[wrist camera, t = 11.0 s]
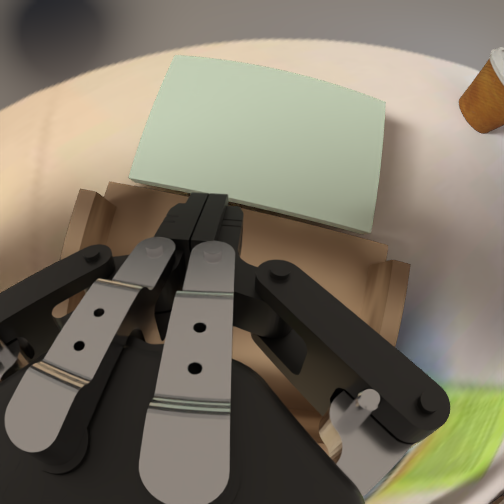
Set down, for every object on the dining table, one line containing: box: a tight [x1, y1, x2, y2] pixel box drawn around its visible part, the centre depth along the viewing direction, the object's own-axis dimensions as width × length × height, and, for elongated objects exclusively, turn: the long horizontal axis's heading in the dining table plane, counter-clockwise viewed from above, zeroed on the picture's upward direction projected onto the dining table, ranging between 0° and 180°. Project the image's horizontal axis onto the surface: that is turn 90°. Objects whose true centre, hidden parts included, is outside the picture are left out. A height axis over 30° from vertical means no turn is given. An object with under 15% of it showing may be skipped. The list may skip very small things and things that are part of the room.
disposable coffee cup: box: [459, 47, 504, 133], centre depth 24 cm, size 10×10×12 cm
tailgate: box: [129, 55, 386, 234], centre depth 22 cm, size 2×19×12 cm
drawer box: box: [52, 182, 410, 456], centre depth 20 cm, size 16×26×9 cm, turn 77°
